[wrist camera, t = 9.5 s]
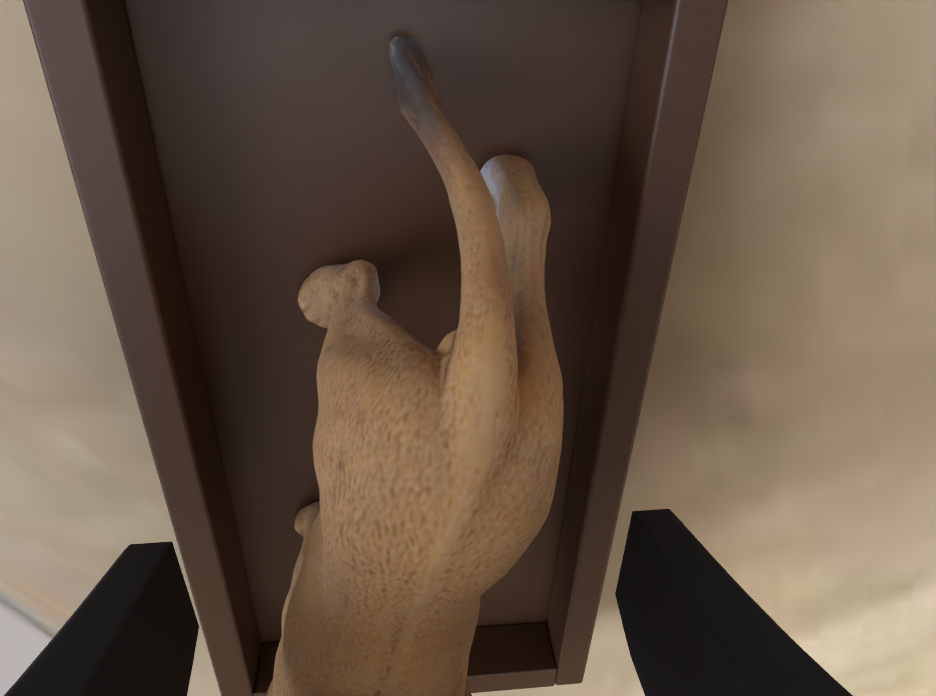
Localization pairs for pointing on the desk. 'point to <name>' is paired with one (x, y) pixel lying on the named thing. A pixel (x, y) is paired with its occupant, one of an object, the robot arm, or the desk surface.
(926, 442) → the desk surface
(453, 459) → the lion figurine
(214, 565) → the brown rectangular tray
